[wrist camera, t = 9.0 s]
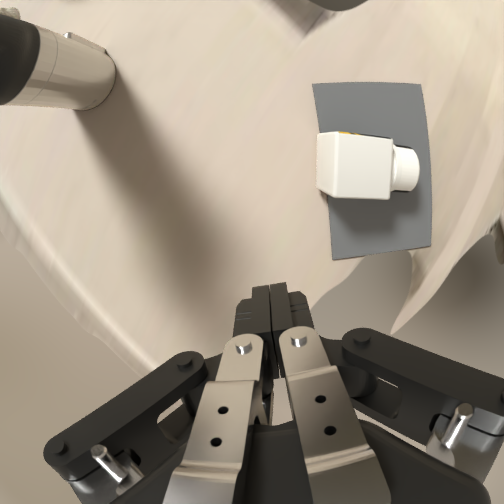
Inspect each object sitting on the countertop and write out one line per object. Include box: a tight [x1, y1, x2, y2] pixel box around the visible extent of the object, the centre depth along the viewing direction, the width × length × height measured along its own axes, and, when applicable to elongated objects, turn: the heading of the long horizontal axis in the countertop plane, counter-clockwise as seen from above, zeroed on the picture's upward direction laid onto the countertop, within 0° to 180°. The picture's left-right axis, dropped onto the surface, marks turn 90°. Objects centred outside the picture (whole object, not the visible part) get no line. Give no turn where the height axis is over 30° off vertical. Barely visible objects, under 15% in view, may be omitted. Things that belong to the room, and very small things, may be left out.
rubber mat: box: [312, 82, 432, 260], centre depth 37 cm, size 24×16×1 cm, turn 9°
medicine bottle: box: [316, 131, 420, 200], centre depth 33 cm, size 7×7×12 cm
